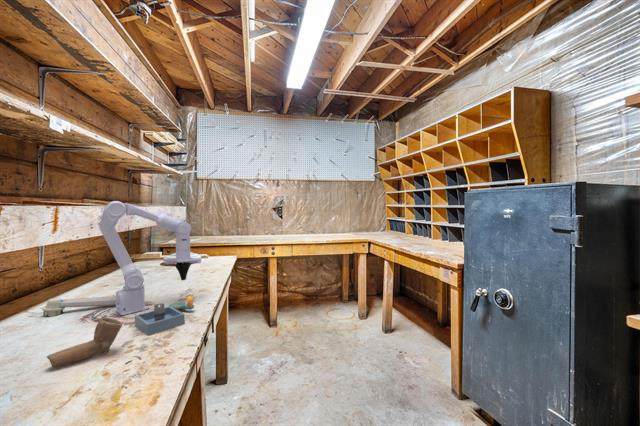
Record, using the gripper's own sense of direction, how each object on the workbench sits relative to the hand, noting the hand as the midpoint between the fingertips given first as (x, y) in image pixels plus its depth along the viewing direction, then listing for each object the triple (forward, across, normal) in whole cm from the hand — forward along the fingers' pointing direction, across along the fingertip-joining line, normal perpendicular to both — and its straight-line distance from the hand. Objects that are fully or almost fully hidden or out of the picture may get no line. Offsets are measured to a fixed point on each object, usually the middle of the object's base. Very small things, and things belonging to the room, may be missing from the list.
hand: (183, 279), depth 129 cm
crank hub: (+9, +2, -12) cm, 15 cm away
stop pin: (+8, +1, -25) cm, 27 cm away
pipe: (+10, -10, -46) cm, 48 cm away
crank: (+8, +4, -13) cm, 15 cm away
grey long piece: (+10, -36, -7) cm, 38 cm away
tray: (+9, +1, -25) cm, 27 cm away
